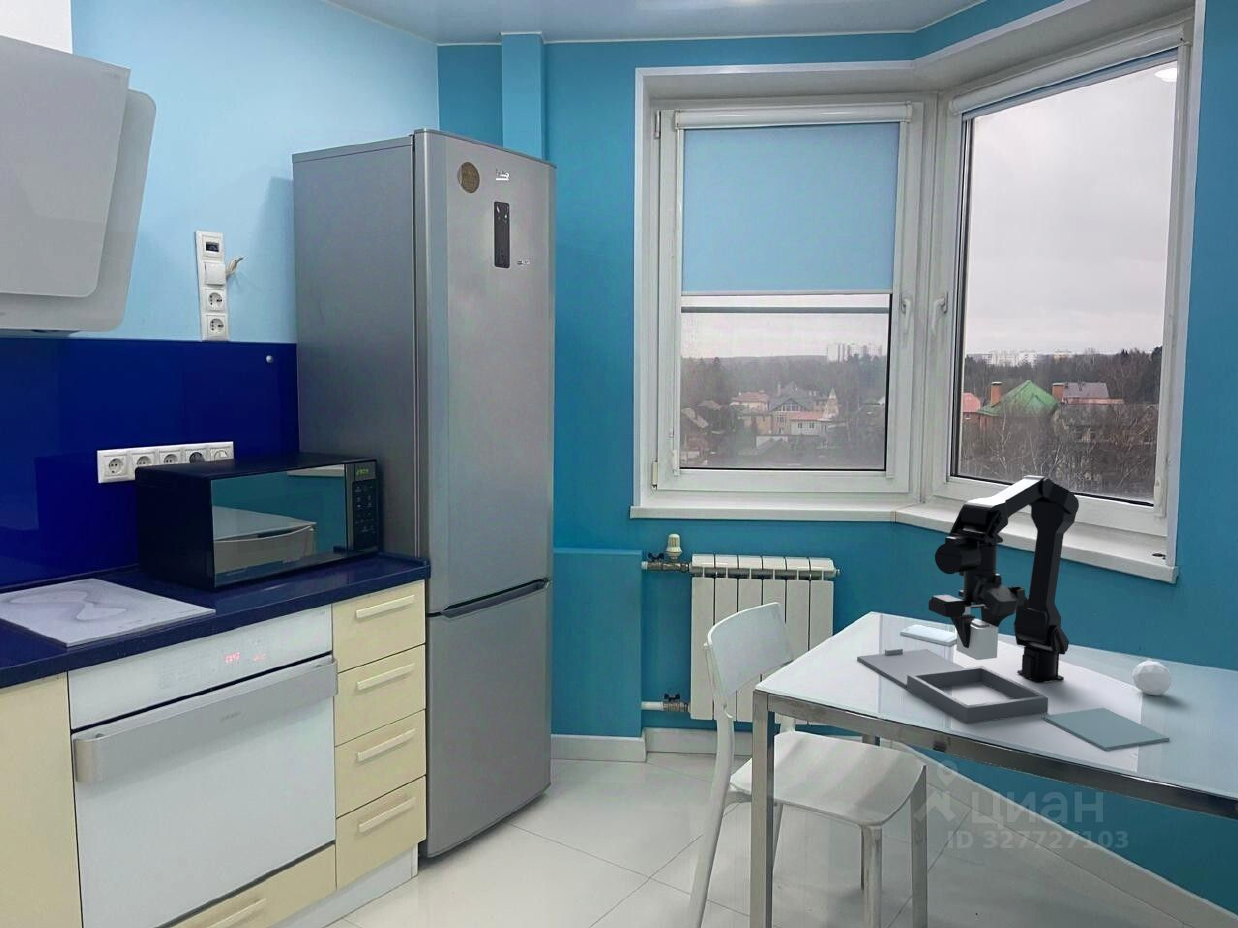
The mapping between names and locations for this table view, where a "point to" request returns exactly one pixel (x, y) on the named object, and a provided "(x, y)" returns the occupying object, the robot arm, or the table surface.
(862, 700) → the table surface
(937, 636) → the hard drive
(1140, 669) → the ornament
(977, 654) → the block
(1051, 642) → the robot arm
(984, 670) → the case
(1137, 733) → the mat
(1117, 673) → the table surface
